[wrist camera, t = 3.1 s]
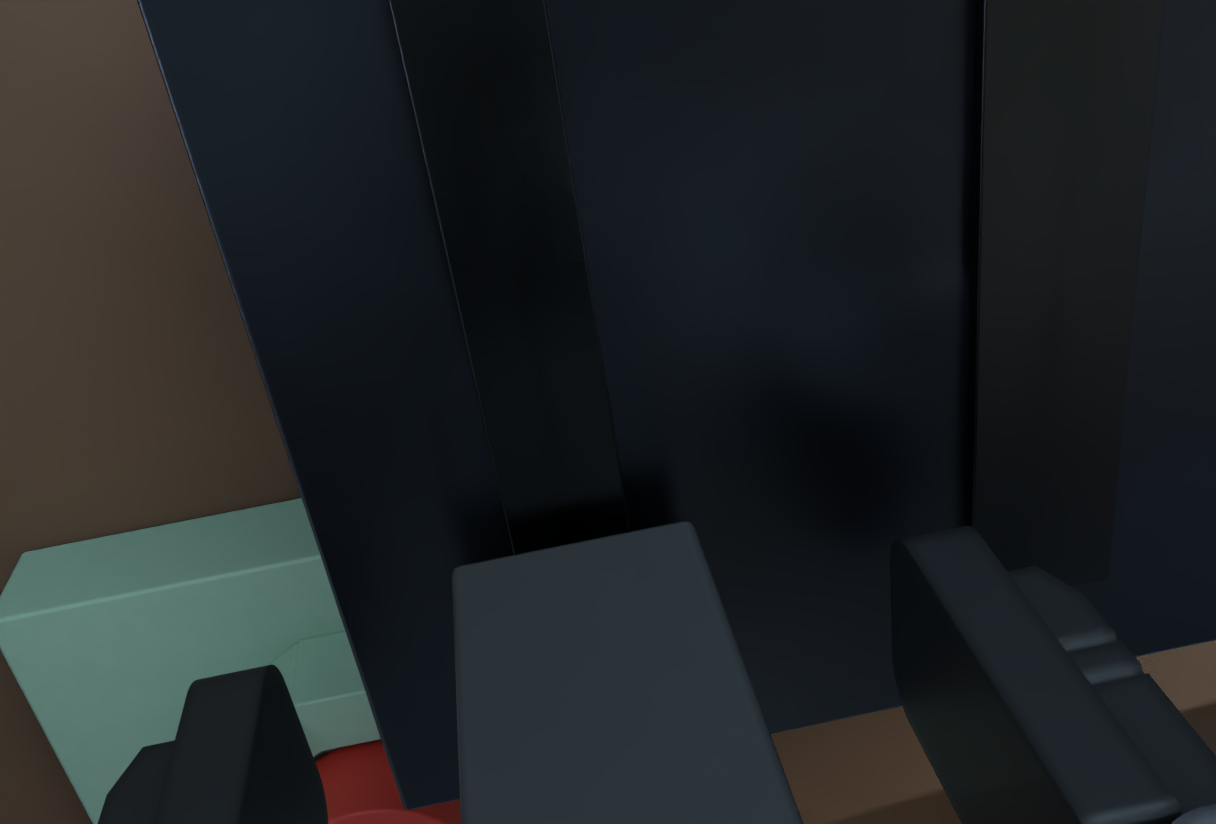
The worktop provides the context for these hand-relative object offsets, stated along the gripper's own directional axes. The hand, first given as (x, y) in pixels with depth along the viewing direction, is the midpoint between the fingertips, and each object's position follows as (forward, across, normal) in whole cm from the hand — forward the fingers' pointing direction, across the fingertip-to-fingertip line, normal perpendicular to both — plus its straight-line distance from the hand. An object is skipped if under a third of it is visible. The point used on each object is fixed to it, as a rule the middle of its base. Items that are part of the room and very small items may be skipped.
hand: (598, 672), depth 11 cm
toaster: (+11, -4, -3) cm, 12 cm away
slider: (+1, 0, 0) cm, 1 cm away
